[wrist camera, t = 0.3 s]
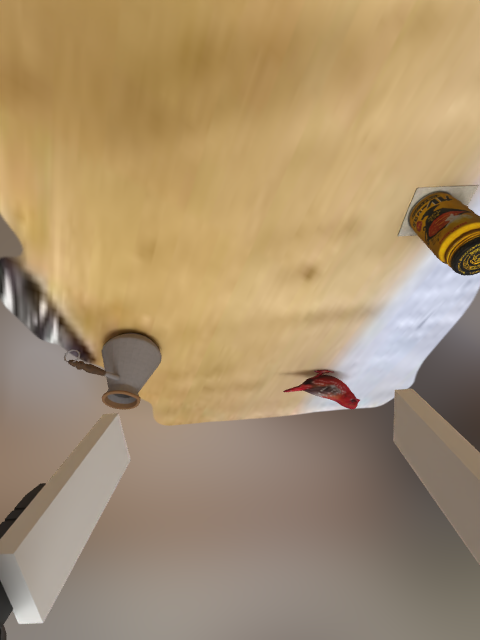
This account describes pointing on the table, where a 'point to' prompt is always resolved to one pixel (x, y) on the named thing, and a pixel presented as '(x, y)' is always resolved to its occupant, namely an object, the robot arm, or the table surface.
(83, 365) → the coffee pot
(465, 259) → the condiment
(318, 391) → the decorative bird figurine
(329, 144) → the table surface
